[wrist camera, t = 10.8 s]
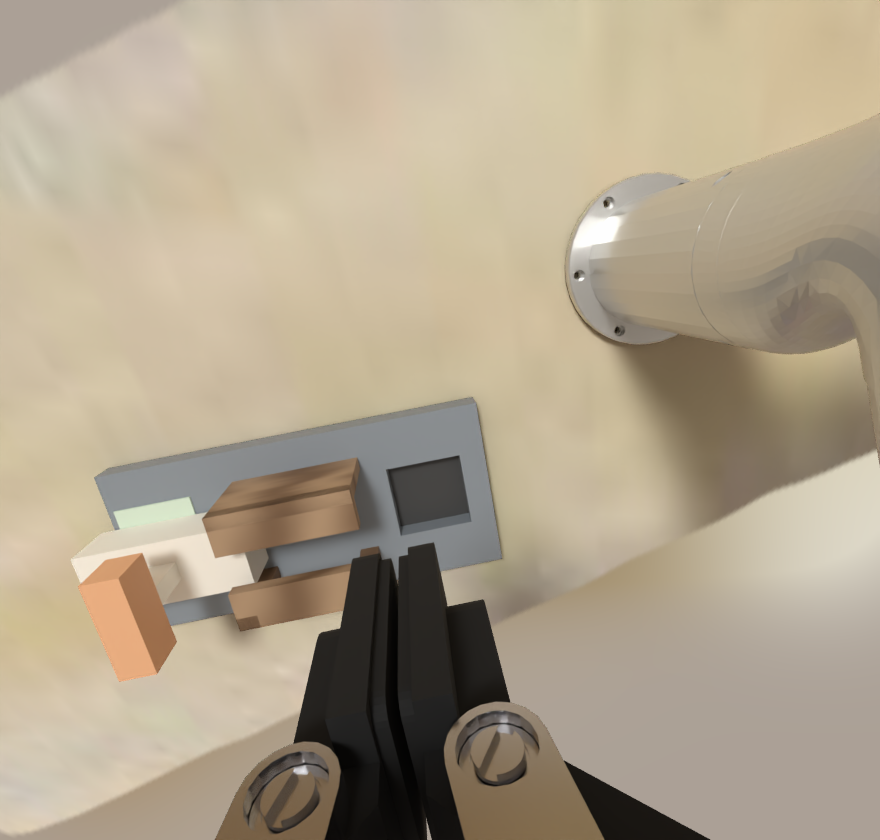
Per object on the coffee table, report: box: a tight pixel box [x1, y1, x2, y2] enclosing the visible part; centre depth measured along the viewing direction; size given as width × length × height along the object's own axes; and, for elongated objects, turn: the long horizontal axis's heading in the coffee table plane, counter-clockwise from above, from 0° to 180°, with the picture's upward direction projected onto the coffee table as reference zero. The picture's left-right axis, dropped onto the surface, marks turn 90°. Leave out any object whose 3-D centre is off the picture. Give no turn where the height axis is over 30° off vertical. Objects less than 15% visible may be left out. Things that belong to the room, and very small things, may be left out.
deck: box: [94, 397, 502, 626], centre depth 43 cm, size 30×14×2 cm, turn 100°
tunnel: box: [202, 457, 381, 631], centre depth 39 cm, size 10×9×6 cm
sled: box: [71, 512, 269, 682], centre depth 37 cm, size 12×7×10 cm, turn 101°
